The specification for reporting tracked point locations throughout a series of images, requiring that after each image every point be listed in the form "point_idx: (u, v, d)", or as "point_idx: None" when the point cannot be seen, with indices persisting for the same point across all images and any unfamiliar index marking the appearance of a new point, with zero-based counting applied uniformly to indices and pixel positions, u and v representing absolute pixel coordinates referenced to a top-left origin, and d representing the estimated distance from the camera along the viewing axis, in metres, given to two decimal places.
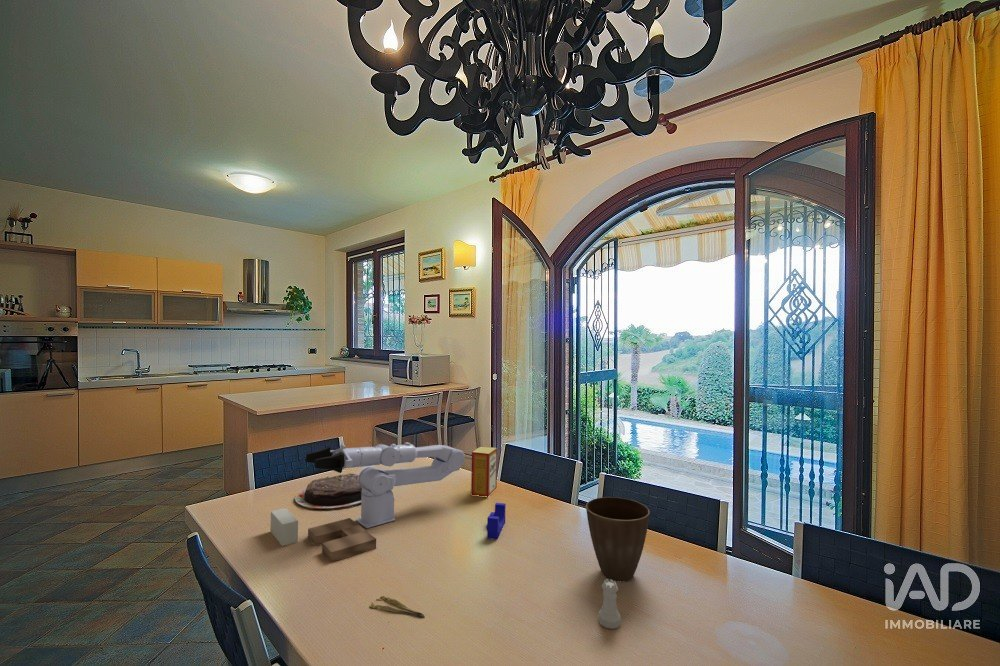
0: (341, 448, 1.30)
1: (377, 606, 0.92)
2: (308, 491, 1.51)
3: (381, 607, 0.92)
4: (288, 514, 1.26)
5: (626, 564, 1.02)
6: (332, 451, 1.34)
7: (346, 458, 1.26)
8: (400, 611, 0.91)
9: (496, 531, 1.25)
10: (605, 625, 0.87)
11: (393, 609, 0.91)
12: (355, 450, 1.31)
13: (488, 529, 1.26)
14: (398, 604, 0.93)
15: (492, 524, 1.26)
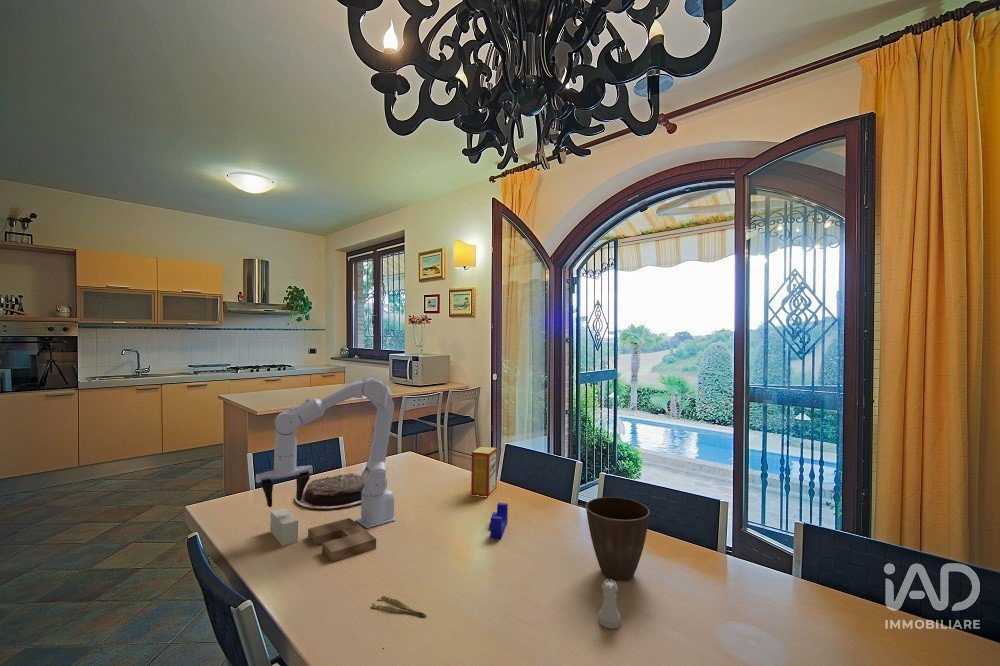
0: None
1: (378, 606, 0.92)
2: (308, 491, 1.51)
3: (382, 607, 0.92)
4: (288, 514, 1.26)
5: (626, 564, 1.02)
6: None
7: None
8: (402, 611, 0.91)
9: (499, 531, 1.25)
10: (605, 625, 0.87)
11: (395, 609, 0.91)
12: None
13: (491, 529, 1.26)
14: (399, 604, 0.93)
15: (495, 524, 1.26)
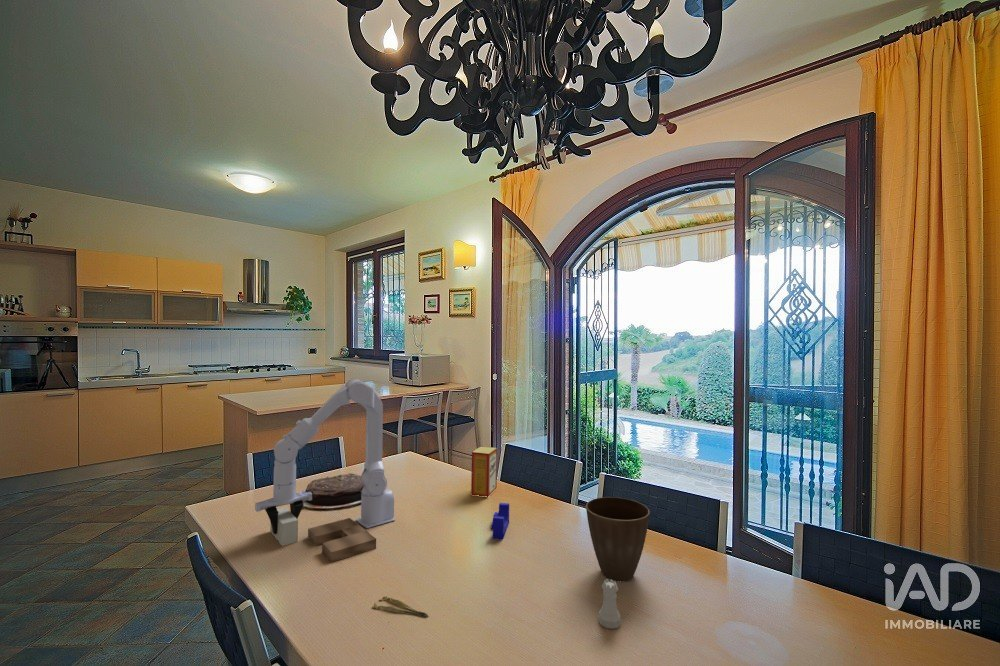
0: None
1: (380, 607, 0.92)
2: (308, 491, 1.51)
3: (384, 608, 0.92)
4: (288, 513, 1.26)
5: (626, 564, 1.02)
6: None
7: None
8: (403, 611, 0.91)
9: (502, 531, 1.25)
10: (605, 625, 0.87)
11: (396, 609, 0.91)
12: None
13: (493, 529, 1.26)
14: (401, 604, 0.93)
15: (497, 524, 1.25)
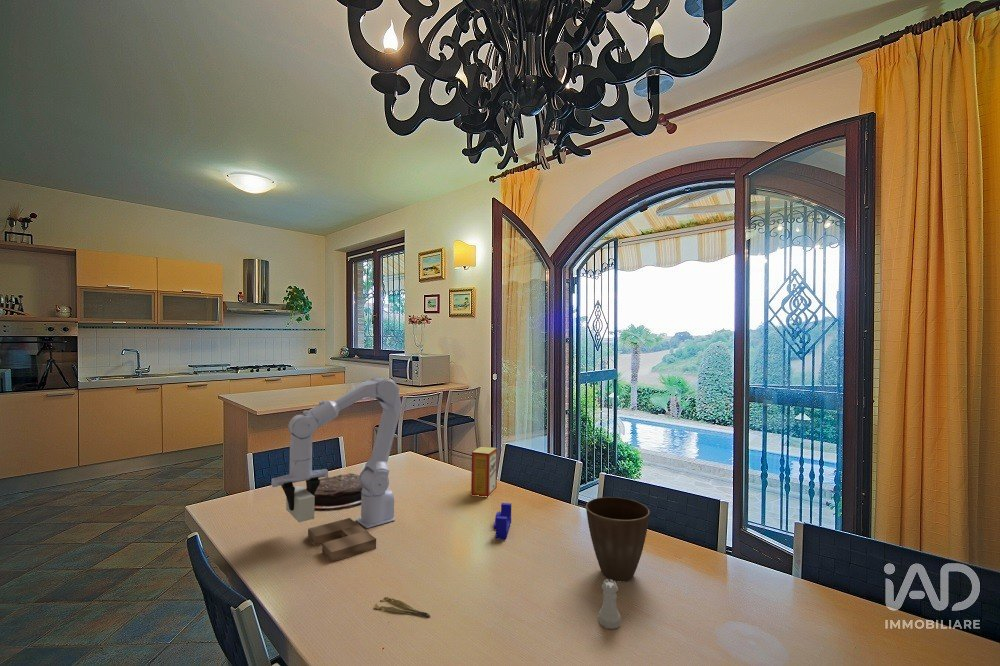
0: None
1: (381, 607, 0.92)
2: None
3: (386, 608, 0.92)
4: (304, 491, 1.25)
5: (626, 564, 1.02)
6: None
7: None
8: (405, 612, 0.91)
9: (505, 531, 1.25)
10: (605, 625, 0.87)
11: (398, 610, 0.91)
12: None
13: (497, 529, 1.26)
14: (402, 605, 0.93)
15: (500, 524, 1.26)
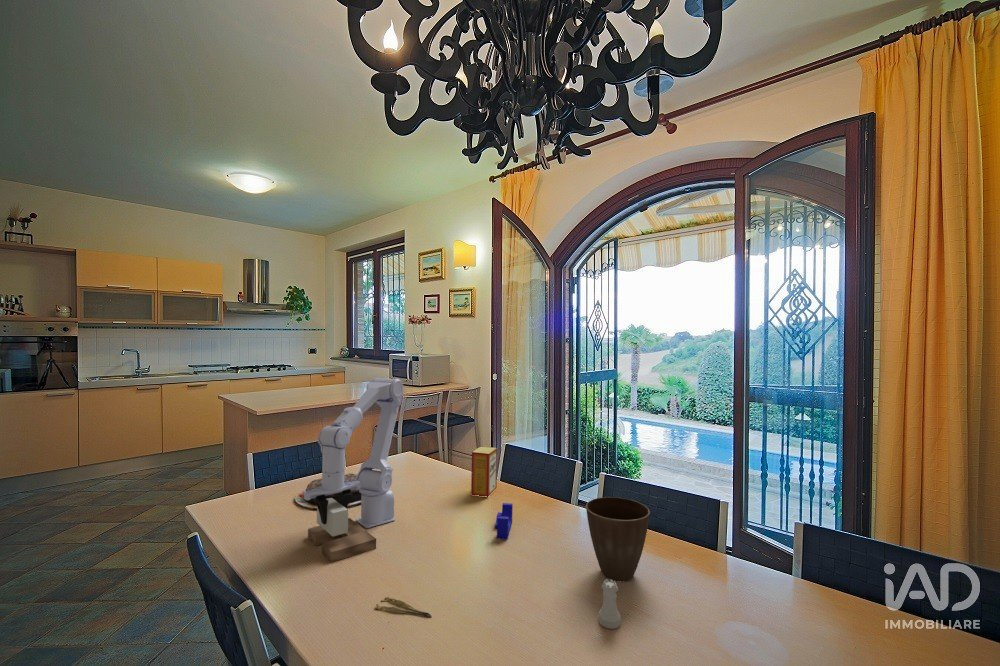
0: None
1: (382, 607, 0.92)
2: None
3: (387, 608, 0.92)
4: (336, 503, 1.22)
5: (626, 564, 1.02)
6: None
7: None
8: (406, 612, 0.91)
9: (506, 531, 1.25)
10: (605, 625, 0.87)
11: (399, 610, 0.91)
12: None
13: (498, 529, 1.26)
14: (404, 605, 0.93)
15: (502, 524, 1.26)
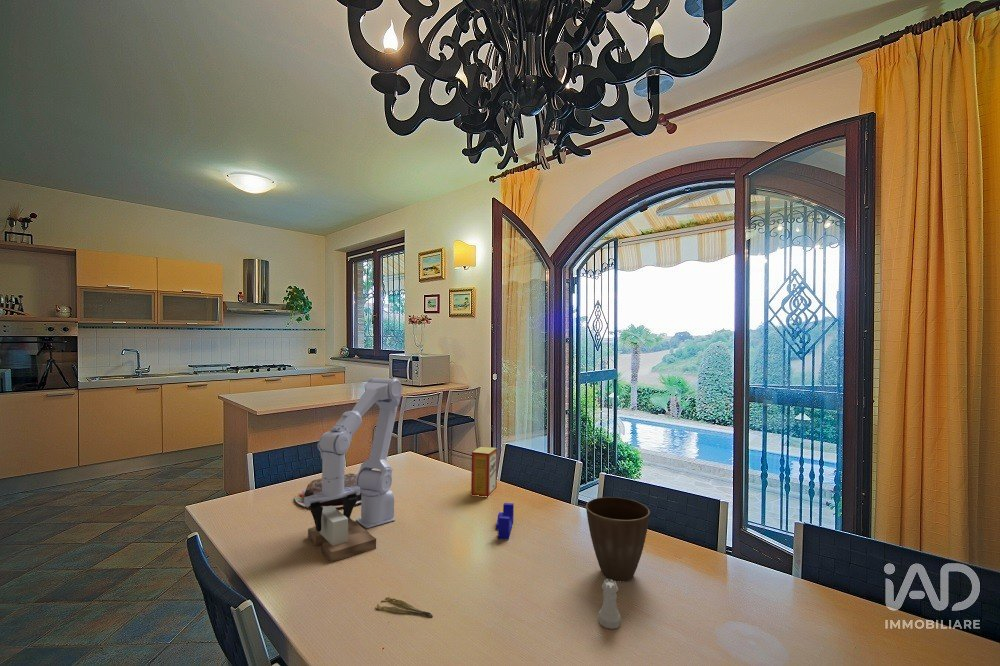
0: None
1: (383, 607, 0.92)
2: (308, 491, 1.51)
3: (388, 608, 0.92)
4: (336, 512, 1.22)
5: (626, 564, 1.02)
6: None
7: None
8: (407, 611, 0.91)
9: (507, 531, 1.25)
10: (605, 625, 0.87)
11: (400, 610, 0.91)
12: None
13: (499, 529, 1.26)
14: (404, 605, 0.93)
15: (503, 524, 1.26)
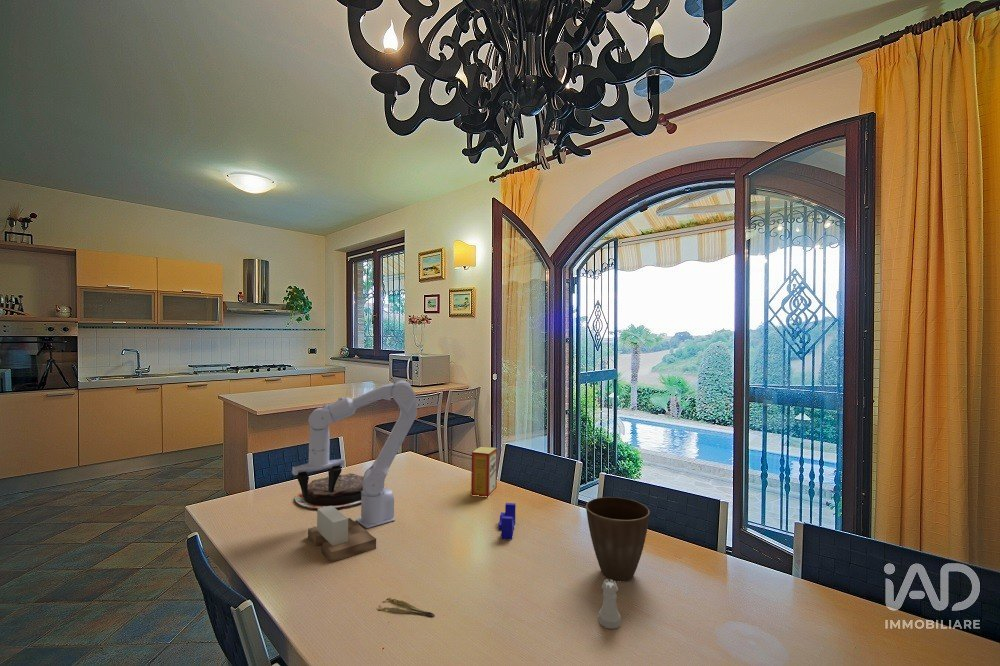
0: None
1: (385, 608, 0.92)
2: (308, 491, 1.51)
3: (389, 609, 0.92)
4: (336, 512, 1.22)
5: (626, 564, 1.02)
6: None
7: None
8: (409, 612, 0.91)
9: (510, 531, 1.25)
10: (605, 625, 0.87)
11: (402, 610, 0.91)
12: None
13: (502, 529, 1.26)
14: (406, 605, 0.93)
15: (506, 524, 1.26)
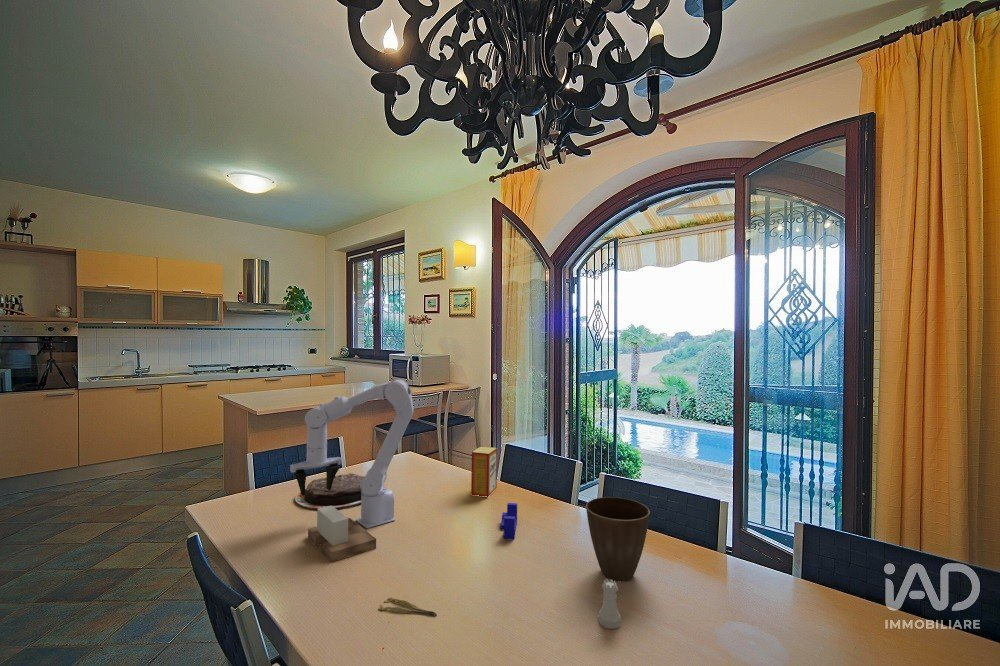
0: None
1: (387, 608, 0.92)
2: (308, 491, 1.51)
3: (391, 609, 0.92)
4: (336, 512, 1.22)
5: (626, 564, 1.02)
6: None
7: None
8: (411, 611, 0.91)
9: (513, 531, 1.25)
10: (605, 625, 0.87)
11: (404, 610, 0.91)
12: None
13: (505, 529, 1.26)
14: (408, 605, 0.93)
15: (508, 524, 1.26)
